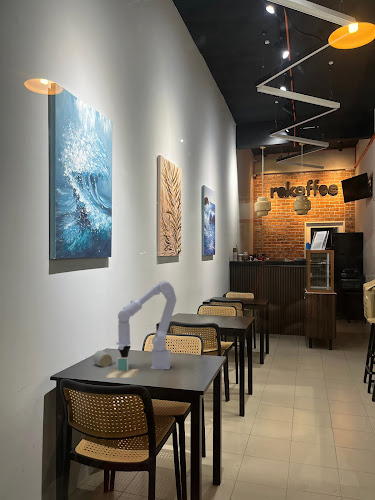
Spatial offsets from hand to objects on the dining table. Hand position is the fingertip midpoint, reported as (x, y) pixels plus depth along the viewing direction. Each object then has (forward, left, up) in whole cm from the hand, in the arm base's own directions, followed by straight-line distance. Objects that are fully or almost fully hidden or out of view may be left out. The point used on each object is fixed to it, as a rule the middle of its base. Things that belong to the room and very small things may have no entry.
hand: (124, 361), depth 203 cm
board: (-1, +8, -4) cm, 9 cm away
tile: (0, +4, -4) cm, 6 cm away
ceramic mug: (+12, -8, -5) cm, 16 cm away
